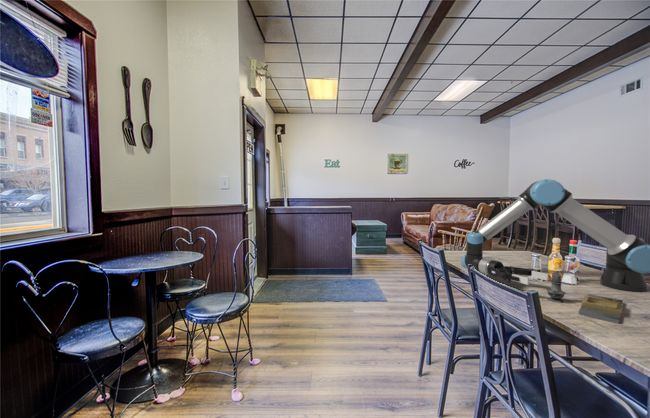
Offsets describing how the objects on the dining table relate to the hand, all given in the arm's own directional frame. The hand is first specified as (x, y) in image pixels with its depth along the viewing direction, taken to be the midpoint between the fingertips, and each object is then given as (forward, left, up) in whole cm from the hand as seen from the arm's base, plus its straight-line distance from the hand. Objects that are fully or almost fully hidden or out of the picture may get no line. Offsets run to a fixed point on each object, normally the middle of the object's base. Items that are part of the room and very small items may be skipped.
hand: (538, 279), depth 121 cm
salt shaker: (-2, +6, -7) cm, 10 cm away
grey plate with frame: (-11, +16, -7) cm, 21 cm away
